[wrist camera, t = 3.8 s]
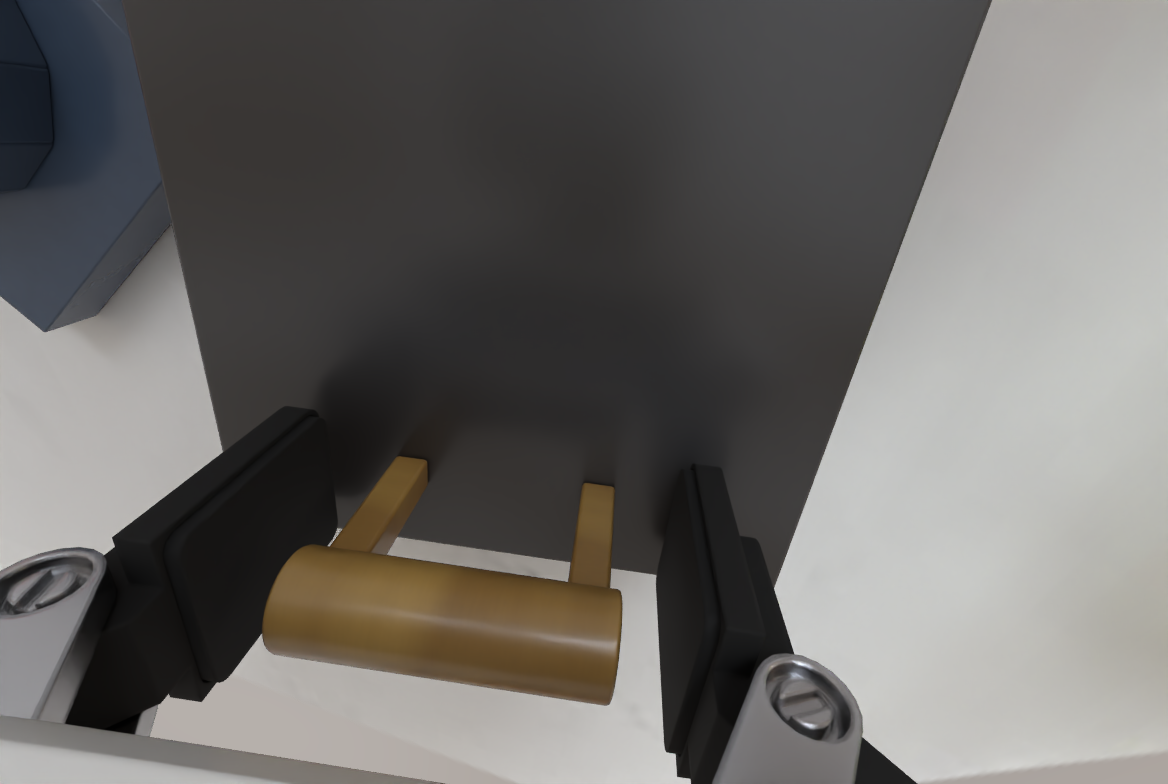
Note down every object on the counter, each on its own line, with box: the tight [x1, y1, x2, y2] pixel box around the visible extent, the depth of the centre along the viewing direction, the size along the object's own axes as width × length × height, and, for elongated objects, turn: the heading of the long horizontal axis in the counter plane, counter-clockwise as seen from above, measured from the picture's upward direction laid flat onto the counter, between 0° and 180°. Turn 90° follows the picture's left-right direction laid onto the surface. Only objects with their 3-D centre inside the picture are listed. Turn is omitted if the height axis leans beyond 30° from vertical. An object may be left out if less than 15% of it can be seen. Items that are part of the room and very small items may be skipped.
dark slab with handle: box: [122, 0, 992, 706], centre depth 8 cm, size 14×13×6 cm
